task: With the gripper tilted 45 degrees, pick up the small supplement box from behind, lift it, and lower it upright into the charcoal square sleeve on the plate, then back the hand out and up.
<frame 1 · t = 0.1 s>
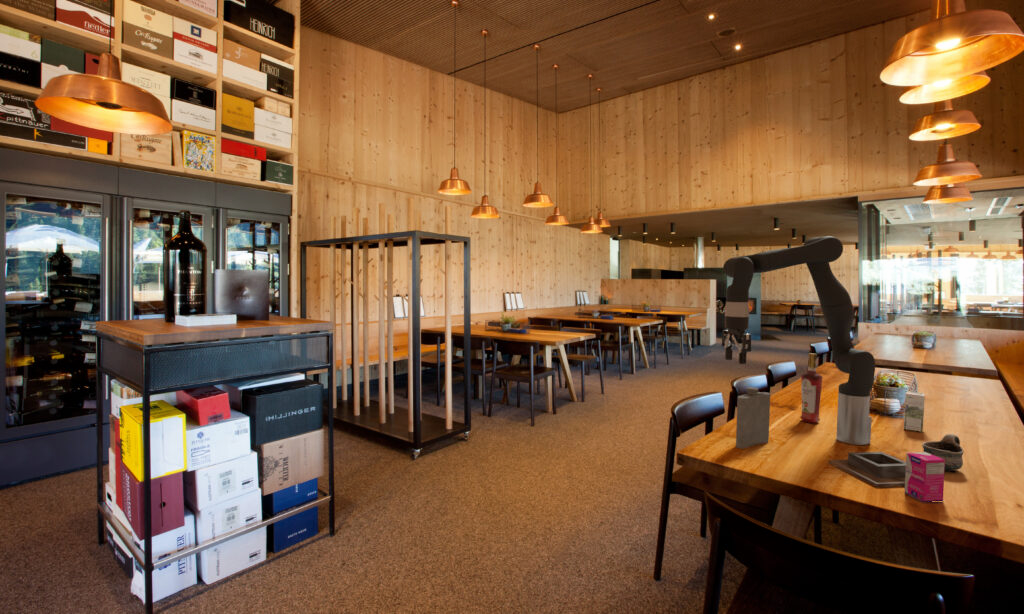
hand: (735, 361, 167), 29 cm above the table, tool pointing down, fingers open, 8 cm apart
syrup box: (913, 430, 187), on the table
liquor: (809, 422, 197), on the table
supplement box: (923, 498, 128), on the table
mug: (942, 468, 149), on the table
hip flask: (751, 444, 170), on the table
socket: (879, 473, 144), on the table
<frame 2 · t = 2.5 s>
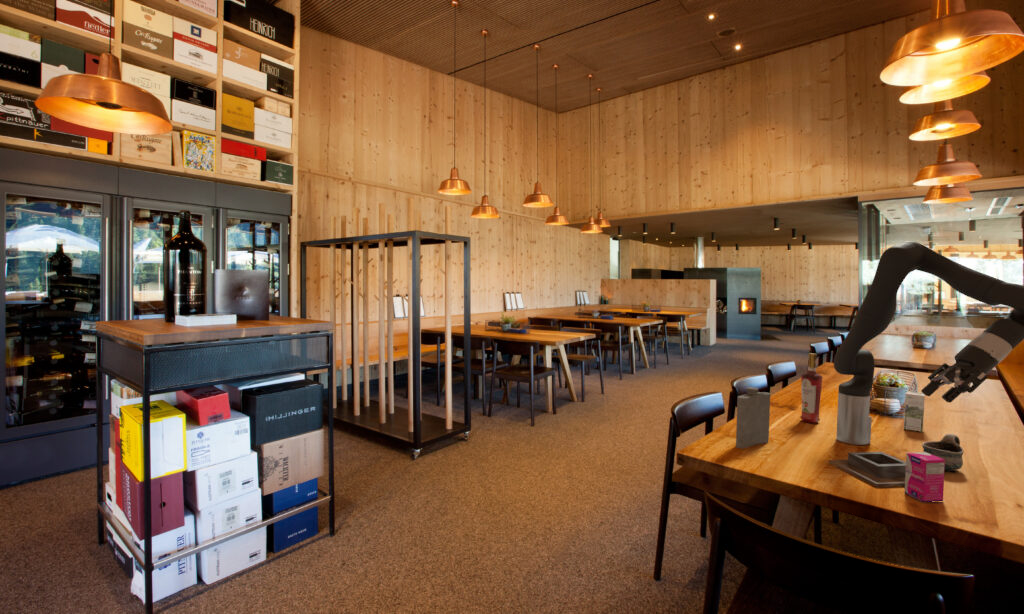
hand: (934, 397, 130), 26 cm above the table, tool tilted 40°, fingers open, 8 cm apart
nothing on the table moved.
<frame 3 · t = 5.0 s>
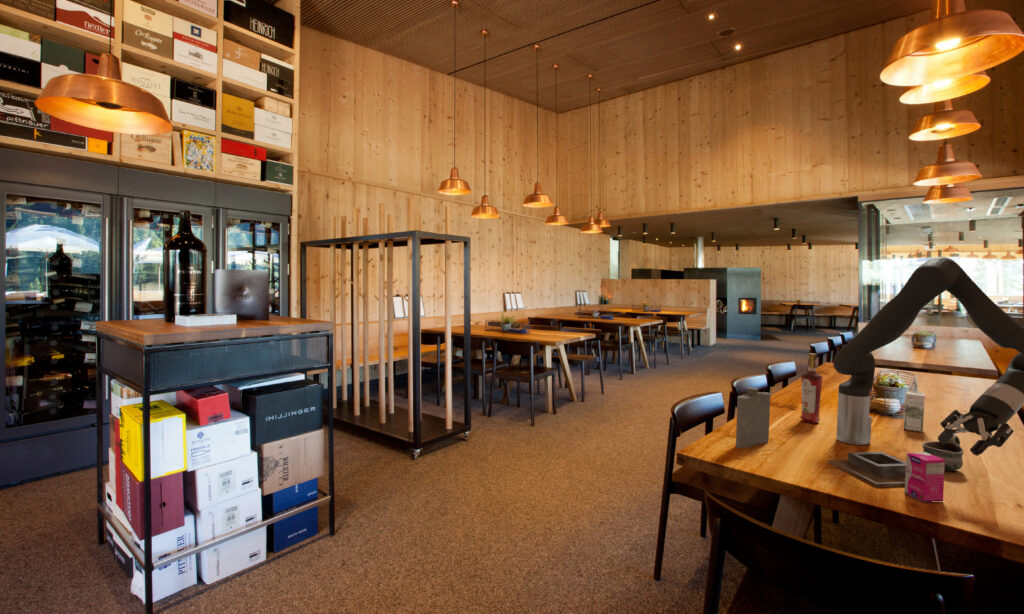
hand: (956, 447, 128), 13 cm above the table, tool tilted 45°, fingers open, 8 cm apart
nothing on the table moved.
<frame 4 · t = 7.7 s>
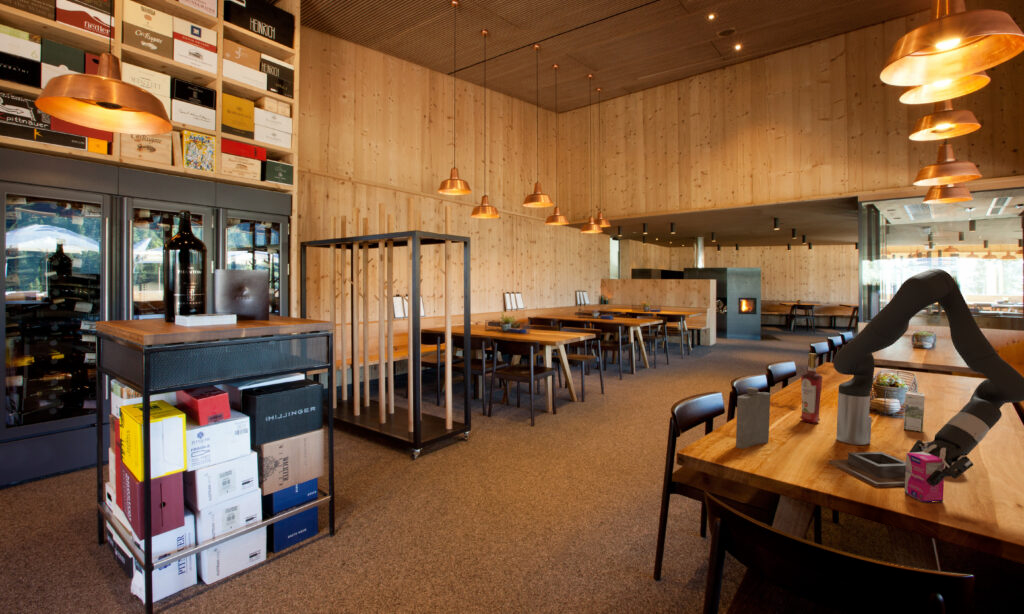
hand: (918, 478, 128), 5 cm above the table, tool tilted 45°, fingers closed on supplement box, 5 cm apart
supplement box: (923, 498, 128), on the table, touching gripper
everything else where it was.
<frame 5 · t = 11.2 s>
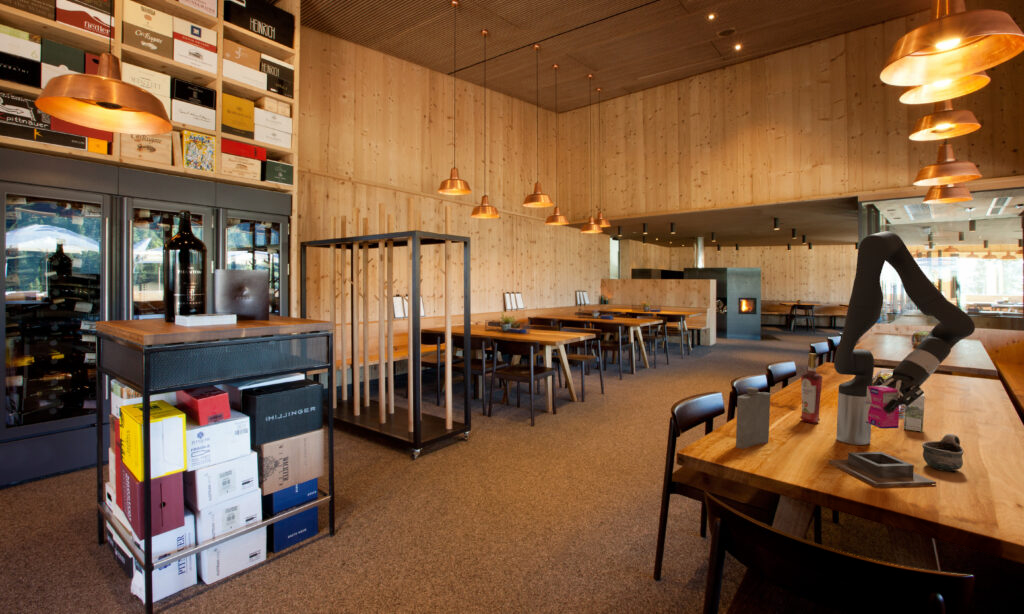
hand: (877, 408, 143), 20 cm above the table, tool tilted 45°, fingers closed on supplement box, 5 cm apart
supplement box: (881, 426, 143), point 14 cm above the table, touching gripper
everything else where it was.
when the fingers open (8 cm above the table, at t = 14.7 s): supplement box drops 1 cm, resting on socket.
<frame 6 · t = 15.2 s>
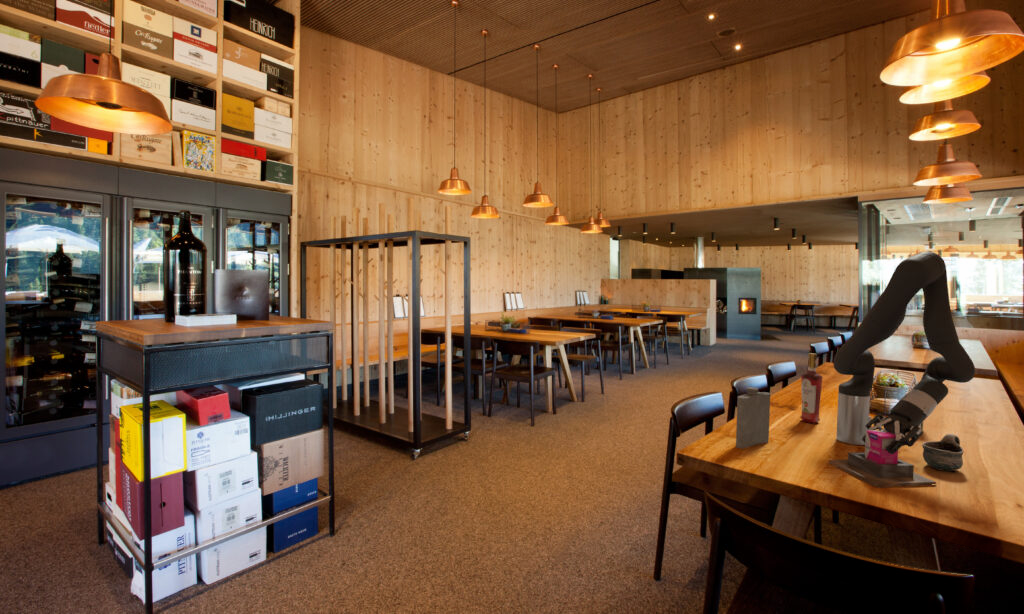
hand: (876, 446, 144), 8 cm above the table, tool tilted 45°, fingers open, 8 cm apart
supplement box: (880, 471, 144), point 1 cm above the table, touching socket
everything else where it was.
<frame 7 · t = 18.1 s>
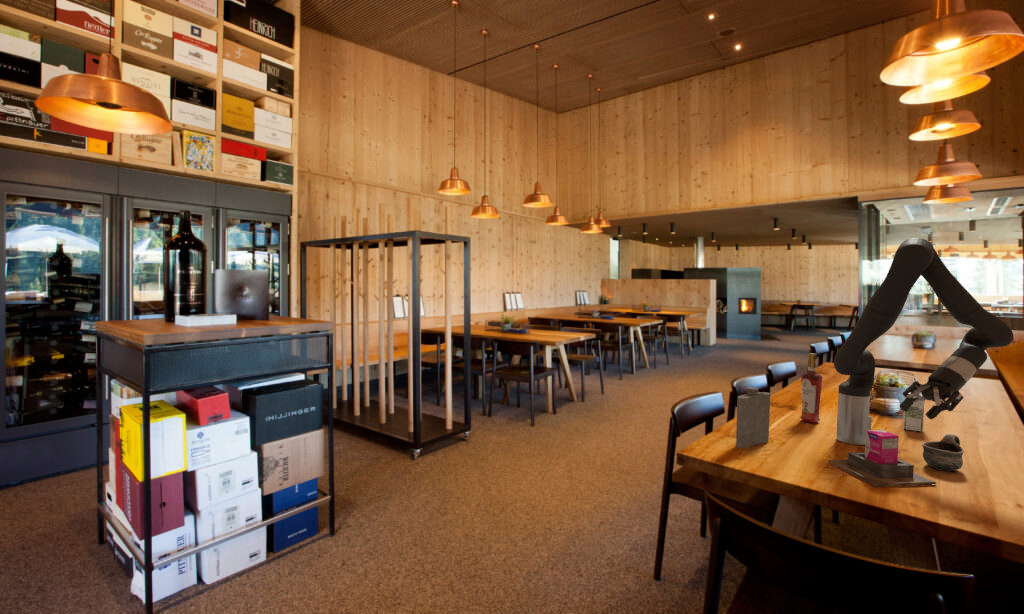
hand: (914, 413, 144), 18 cm above the table, tool tilted 45°, fingers open, 8 cm apart
nothing on the table moved.
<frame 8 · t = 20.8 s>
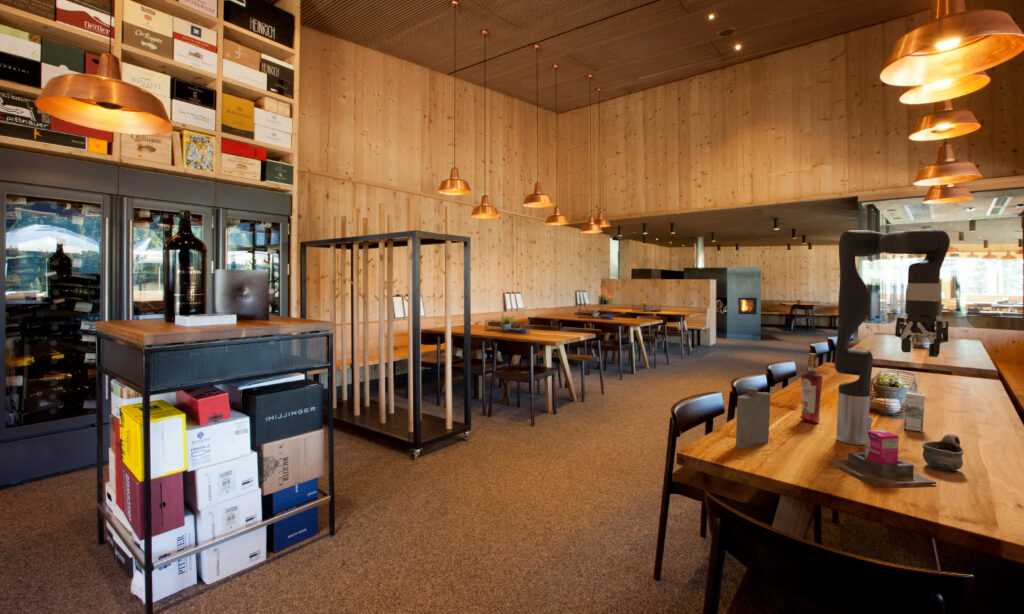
hand: (919, 354, 141), 36 cm above the table, tool pointing down, fingers open, 8 cm apart
nothing on the table moved.
at the end: supplement box 0.2 cm off-centre on the socket, point 0.8 cm above the socket's base; supplement box tilted 0°; the gripper is holding nothing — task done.
